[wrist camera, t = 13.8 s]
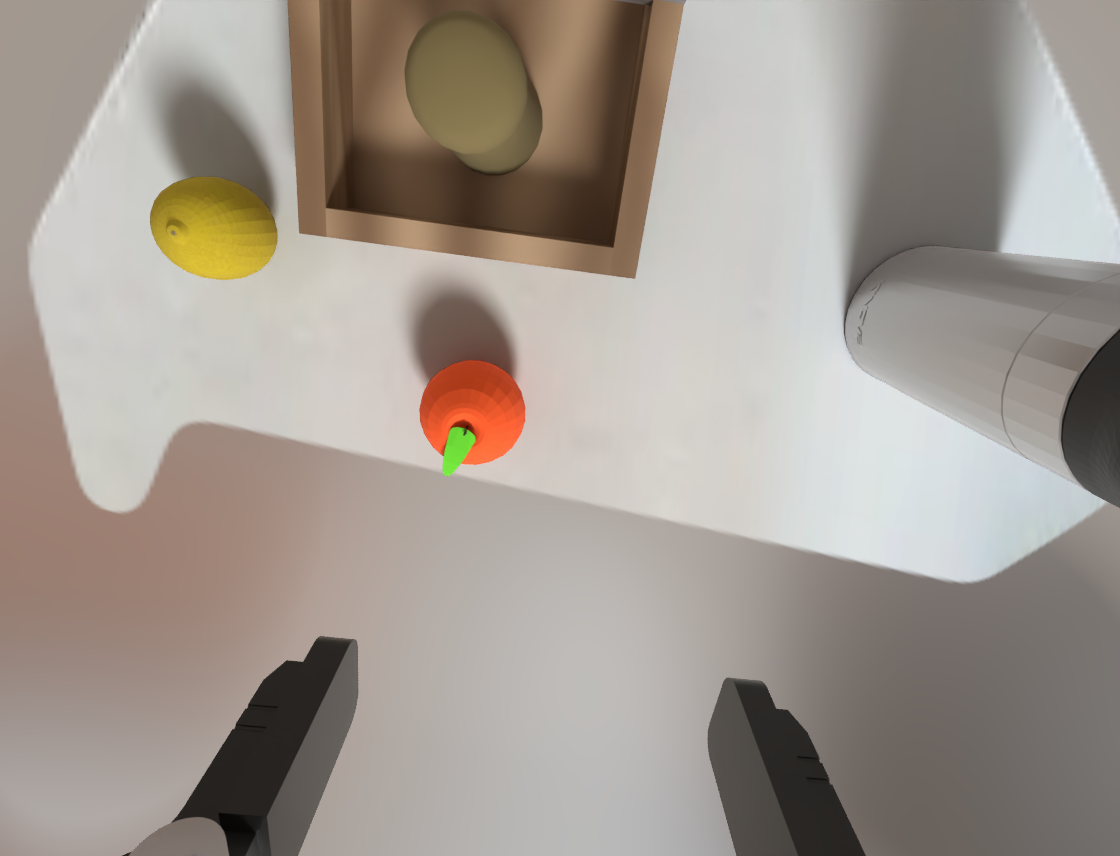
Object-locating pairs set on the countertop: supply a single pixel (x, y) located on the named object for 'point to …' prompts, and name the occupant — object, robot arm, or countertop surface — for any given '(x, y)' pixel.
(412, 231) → the box
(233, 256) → the lemon
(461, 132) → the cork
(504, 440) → the clementine
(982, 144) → the countertop surface
